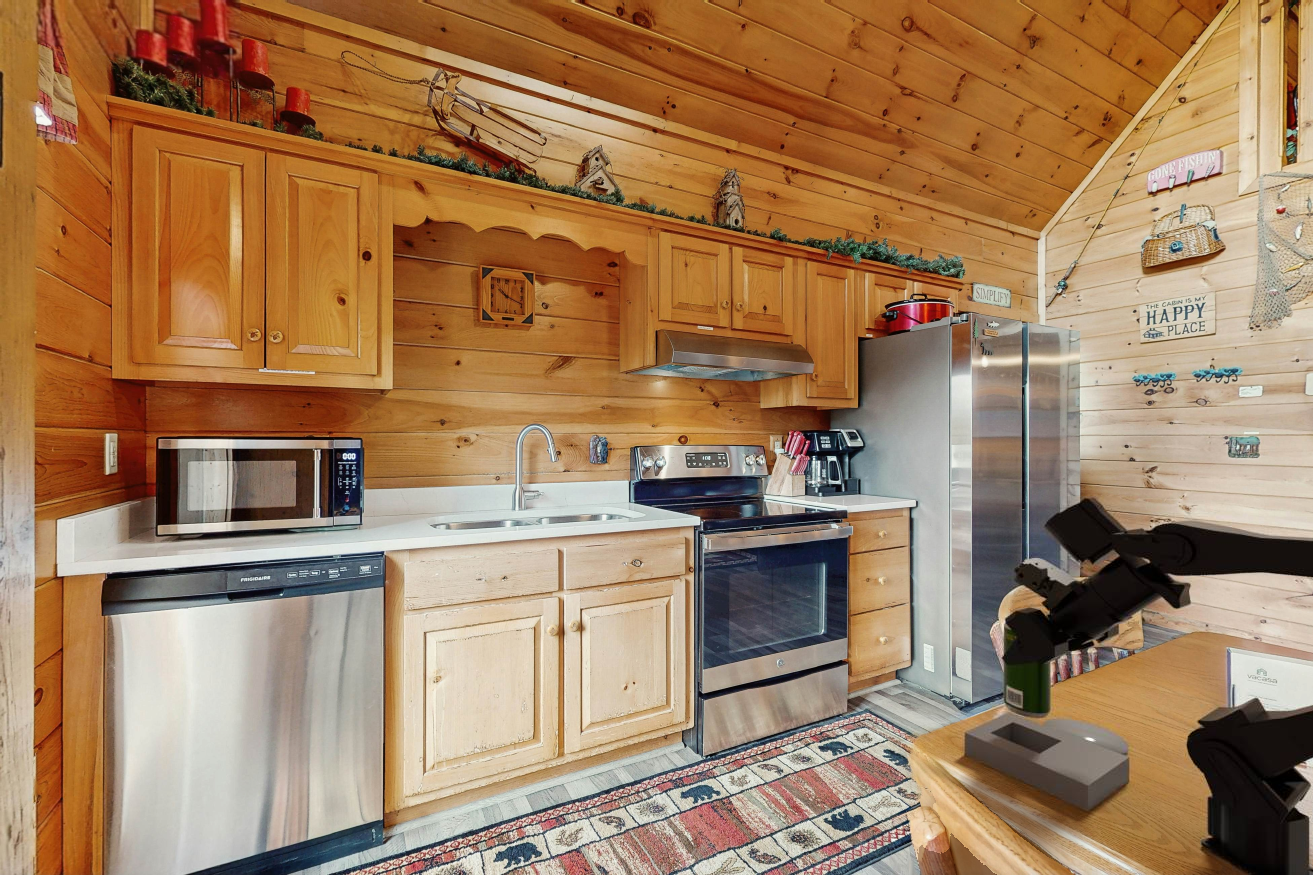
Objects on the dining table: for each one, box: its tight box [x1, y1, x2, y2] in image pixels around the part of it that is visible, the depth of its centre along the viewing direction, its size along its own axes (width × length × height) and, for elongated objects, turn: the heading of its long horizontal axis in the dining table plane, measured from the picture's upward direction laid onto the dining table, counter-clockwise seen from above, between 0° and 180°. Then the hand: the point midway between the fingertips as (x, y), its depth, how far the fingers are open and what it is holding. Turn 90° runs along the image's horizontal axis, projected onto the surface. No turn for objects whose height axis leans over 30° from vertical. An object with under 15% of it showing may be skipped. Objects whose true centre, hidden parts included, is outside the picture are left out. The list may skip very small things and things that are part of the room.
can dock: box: [964, 711, 1130, 812], centre depth 76 cm, size 14×12×3 cm
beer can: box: [1003, 621, 1052, 719], centre depth 78 cm, size 5×5×12 cm
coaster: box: [1042, 718, 1130, 756], centre depth 84 cm, size 10×10×1 cm
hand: (1015, 657), depth 79 cm, fingers closed on beer can, 5 cm apart
